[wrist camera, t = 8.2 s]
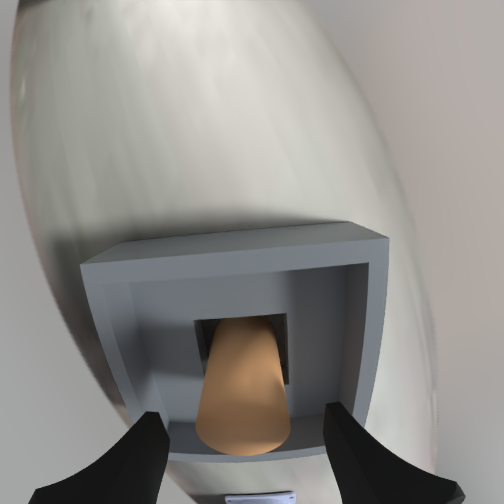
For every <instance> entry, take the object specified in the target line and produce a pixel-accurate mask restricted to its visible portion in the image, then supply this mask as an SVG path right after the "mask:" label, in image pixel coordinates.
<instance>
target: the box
mask: <svg viewBox="0 0 504 504" xmlns="http://www.w3.org/2000/svg"><path fill="white" fill-rule="evenodd" d="M79 265H80V269H81V274H82V278H83V283H84V287H85V291H86V295H87V298H88V302H89V306H90V309H91V313H92V316H93V320H94V323H95V326H96V330H97V333H98V336H99V339H100V342H101V345H102V348H103V351H104V353H105V356H106V359H107V362H108V364H109V367H110V370H111V372H112V375H113V377H114V380H115V382H116V385H117V387H118V389H119V392H120V394H121V396H122V399H123V401H124V403H125V405H126V408H127V410H128V412H129V414H130V416H131V418H132V420H133V422H134V424H135V423H136V422H137V421H138V420H139V418H140V417H141V416H142V415H143V414H144V413H145V412H146V411H151V412H159V414H160V416H161V419H162V421H163V424H164V426H165V429H166V431H167V433H168V436H169V438H170V447H169V455H168V460H174V461H188V462H216V463H229V462H257V461H271V460H282V459H291V458H299V457H306V456H313V455H319V454H325V453H327V452H326V447H325V442H324V437H323V425H324V416H325V406H326V404H327V403H333V402H338V401H340V402H341V403H342V404H343V405H344V406H345V408H346V409H347V410H348V411H349V412H350V414H351V415H352V416H353V417H354V418H355V419H356V420H357V422H358V423H359V424H360V425H361V426H362V427H363V428H364V426H365V423H366V418H367V414H368V410H369V406H370V401H371V397H372V392H373V387H374V382H375V377H376V371H377V366H378V360H379V354H380V347H381V340H382V333H383V325H384V316H385V306H386V295H387V282H388V265H389V238H388V237H386V236H384V235H381V234H379V233H377V232H374V231H372V230H370V229H367V228H365V227H363V226H360V225H358V224H355V223H353V222H341V223H327V224H313V225H299V226H286V227H274V228H262V229H250V230H238V231H227V232H216V233H205V234H195V235H185V236H175V237H165V238H156V239H146V240H137V241H128V242H121V243H119V244H117V245H115V246H113V247H111V248H109V249H107V250H105V251H103V252H101V253H100V254H98V255H96V256H94V257H92V258H90V259H89V260H87V261H85V262H83V263H81V264H79ZM280 313H283V314H284V336H285V363H286V367H281V371H282V377H283V383H284V389H285V395H286V401H287V407H288V413H289V419H290V425H291V430H290V434H289V436H288V438H287V439H286V440H285V441H284V442H283V443H282V444H281V445H280V446H278V447H277V448H275V449H273V450H271V451H269V452H266V453H263V454H258V455H252V456H236V455H230V454H225V453H222V452H219V451H217V450H215V449H213V448H211V447H209V446H208V445H206V444H205V443H204V442H203V441H202V440H201V439H200V438H199V436H198V434H197V432H196V428H195V424H196V418H197V413H198V408H199V403H200V398H201V393H202V388H203V383H204V378H205V373H206V368H207V364H208V356H207V351H206V345H205V340H204V335H203V329H202V323H201V319H217V318H232V317H246V316H258V315H270V314H280Z"/></svg>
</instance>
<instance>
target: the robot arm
mask: <svg viewBox="0 0 504 504" xmlns="http://www.w3.org/2000/svg"><path fill="white" fill-rule="evenodd" d="M323 437H324V442H325V447H326V452H327V455H328V458H329V461H330V464H331V467H332V470H333V473H334V476H335V478H336V481H337V484H338V487H339V490H340V494H341V498H342V503H343V504H461V503H462V502H463V501H464V499H465V495H464V493H463V491H462V489H461V488H460V486H459V485H458V484H457V482H455V481H452V480H448V479H445V478H441V477H438V476H435V475H433V474H430V473H428V472H426V471H423V470H421V469H419V468H417V467H415V466H413V465H412V464H410V463H408V462H406V461H404V460H403V459H401V458H400V457H398V456H397V455H395V454H394V453H392V452H391V451H389V450H388V449H387V448H385V447H384V446H383V445H382V444H381V443H379V442H378V441H377V440H376V439H375V438H374V437H373V436H371V435H370V434H369V433H368V432H367V431H366V430H365V429H364V428H363V427H362V426H361V425H360V424H359V423H358V422H357V420H356V419H355V418H354V417H353V416H352V415H351V414H350V412H349V411H348V410H347V409H346V408H345V406H344V405H343V404H342V403H341V402H340V401H338V402H333V403H327V404H326V406H325V416H324V425H323ZM169 447H170V438H169V436H168V433H167V431H166V429H165V426H164V424H163V421H162V419H161V416H160V414H159V412H151V411H146V412H145V413H144V414H143V415H142V416H141V417H140V418H139V420H138V421H137V422H136V423H135V424H134V425H133V426H132V427H131V428H130V429H129V431H128V432H127V433H126V434H125V435H124V436H123V437H122V438H121V439H120V440H119V441H118V442H117V443H116V444H115V445H114V446H113V447H112V448H111V449H109V450H108V451H107V452H106V453H105V454H104V455H103V456H101V457H100V458H99V459H98V460H96V461H95V462H94V463H92V464H91V465H89V466H88V467H86V468H85V469H83V470H81V471H79V472H78V473H76V474H74V475H72V476H70V477H68V478H66V479H64V480H62V481H59V482H57V483H54V484H51V485H48V486H45V487H42V488H38V489H36V490H35V492H34V494H33V495H32V497H31V499H30V501H29V503H28V504H156V501H157V497H158V493H159V489H160V485H161V482H162V478H163V475H164V471H165V468H166V464H167V460H168V455H169ZM295 498H296V494H295V492H287V493H277V494H264V495H238V496H225V501H226V504H295Z"/></svg>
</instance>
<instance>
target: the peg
mask: <svg viewBox="0 0 504 504" xmlns="http://www.w3.org/2000/svg"><path fill="white" fill-rule="evenodd" d="M195 428H196V432H197V434H198V436H199V438H200V439H201V440H202V441H203V442H204V443H205V444H206V445H208V446H209V447H211V448H213V449H215V450H217V451H219V452H222V453H225V454H230V455H236V456H252V455H258V454H263V453H266V452H269V451H271V450H273V449H275V448H277V447H278V446H280V445H281V444H282V443H283V442H284V441H285V440H286V439H287V438H288V436H289V434H290V430H291V425H290V419H289V413H288V407H287V401H286V395H285V389H284V383H283V377H282V371H281V365H280V359H279V354H278V348H277V342H276V336H275V331H274V328H273V326H272V325H271V323H270V322H269V321H268V320H267V319H266V318H265V317H263V316H262V315H258V316H246V317H232V318H223V319H221V320H220V321H219V323H218V324H217V326H216V328H215V330H214V335H213V340H212V344H211V349H210V354H209V359H208V364H207V368H206V373H205V378H204V383H203V388H202V393H201V398H200V403H199V408H198V413H197V418H196V424H195Z"/></svg>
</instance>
